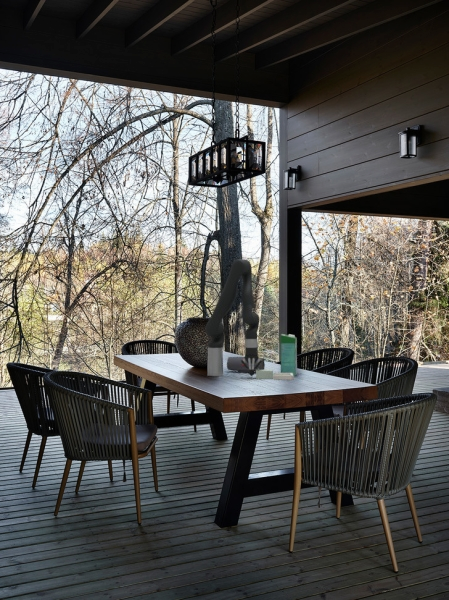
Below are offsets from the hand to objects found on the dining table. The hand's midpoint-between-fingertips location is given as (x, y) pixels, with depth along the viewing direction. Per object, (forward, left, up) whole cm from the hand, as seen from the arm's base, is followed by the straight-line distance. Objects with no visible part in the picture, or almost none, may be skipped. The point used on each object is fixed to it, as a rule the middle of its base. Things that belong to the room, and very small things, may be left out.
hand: (251, 375), depth 373 cm
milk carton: (+22, +17, -2) cm, 28 cm away
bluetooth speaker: (-5, +27, -2) cm, 28 cm away
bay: (+18, 0, -2) cm, 18 cm away
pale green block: (+8, 0, -2) cm, 8 cm away
